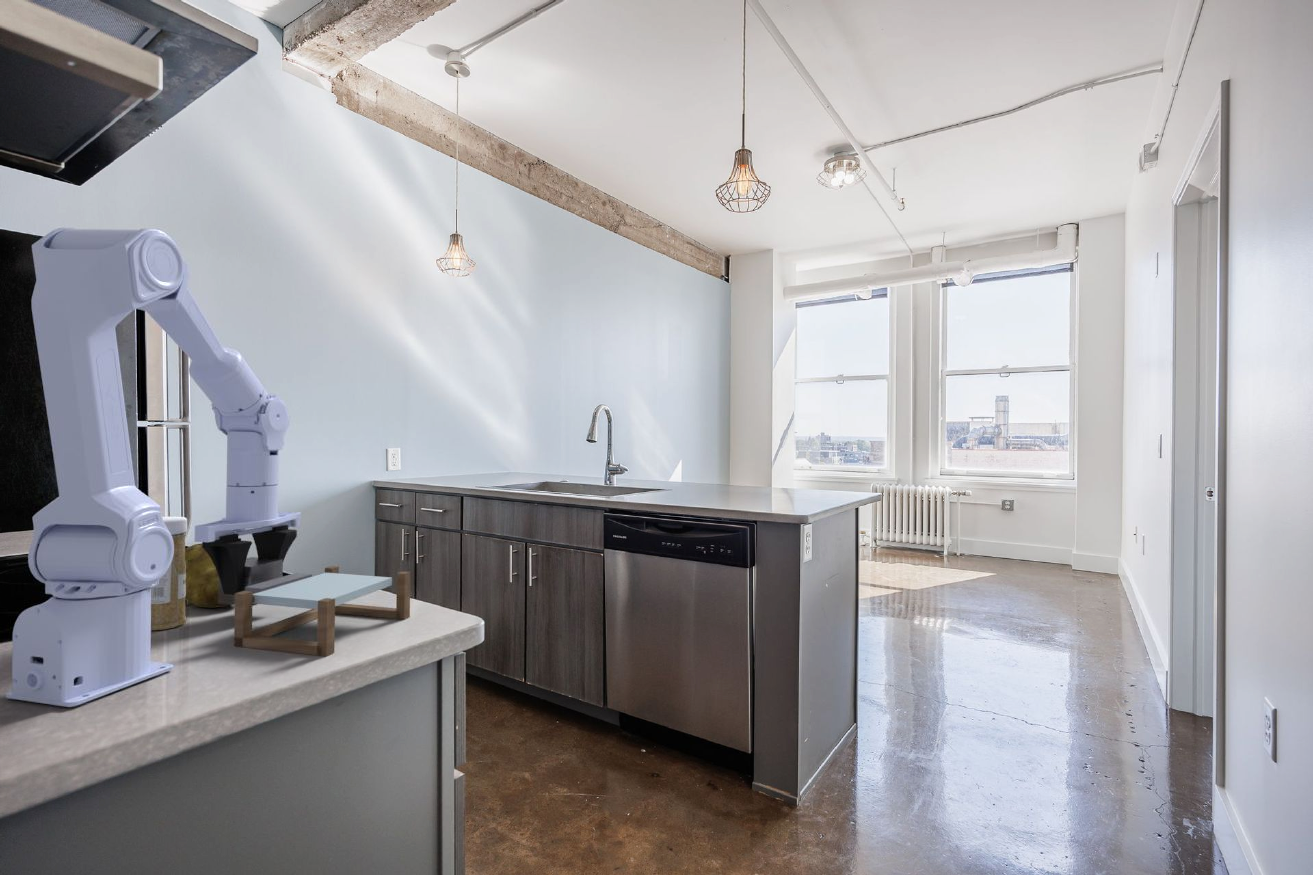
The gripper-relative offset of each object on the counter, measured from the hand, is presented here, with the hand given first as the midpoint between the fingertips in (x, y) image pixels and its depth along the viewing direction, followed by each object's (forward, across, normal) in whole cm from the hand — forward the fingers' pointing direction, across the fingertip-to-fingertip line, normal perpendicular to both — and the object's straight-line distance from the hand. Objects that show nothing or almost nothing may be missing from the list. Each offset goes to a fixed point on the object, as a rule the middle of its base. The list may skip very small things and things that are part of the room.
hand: (251, 588), depth 83 cm
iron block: (+2, 0, 0) cm, 2 cm away
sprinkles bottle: (+4, +6, -7) cm, 10 cm away
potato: (+4, -4, -11) cm, 12 cm away
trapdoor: (-1, +2, +12) cm, 12 cm away
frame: (+4, +2, +14) cm, 14 cm away
